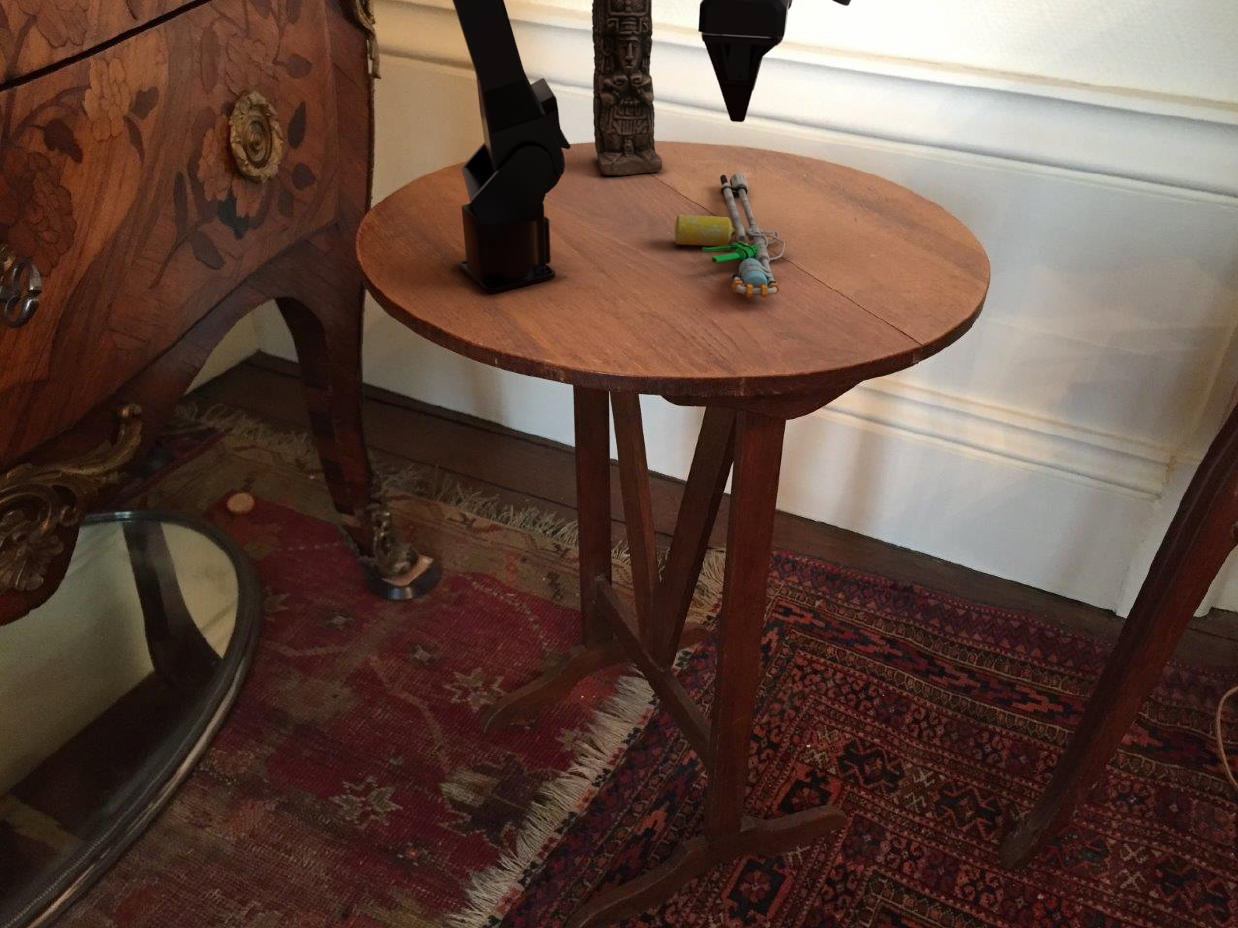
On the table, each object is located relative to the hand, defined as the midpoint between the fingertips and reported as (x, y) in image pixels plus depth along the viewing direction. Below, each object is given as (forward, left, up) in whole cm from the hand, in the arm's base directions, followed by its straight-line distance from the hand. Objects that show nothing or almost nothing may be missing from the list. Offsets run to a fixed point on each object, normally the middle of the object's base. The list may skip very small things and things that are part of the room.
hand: (742, 105), depth 80 cm
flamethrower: (+2, +3, -13) cm, 14 cm away
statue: (+5, +26, -13) cm, 29 cm away
